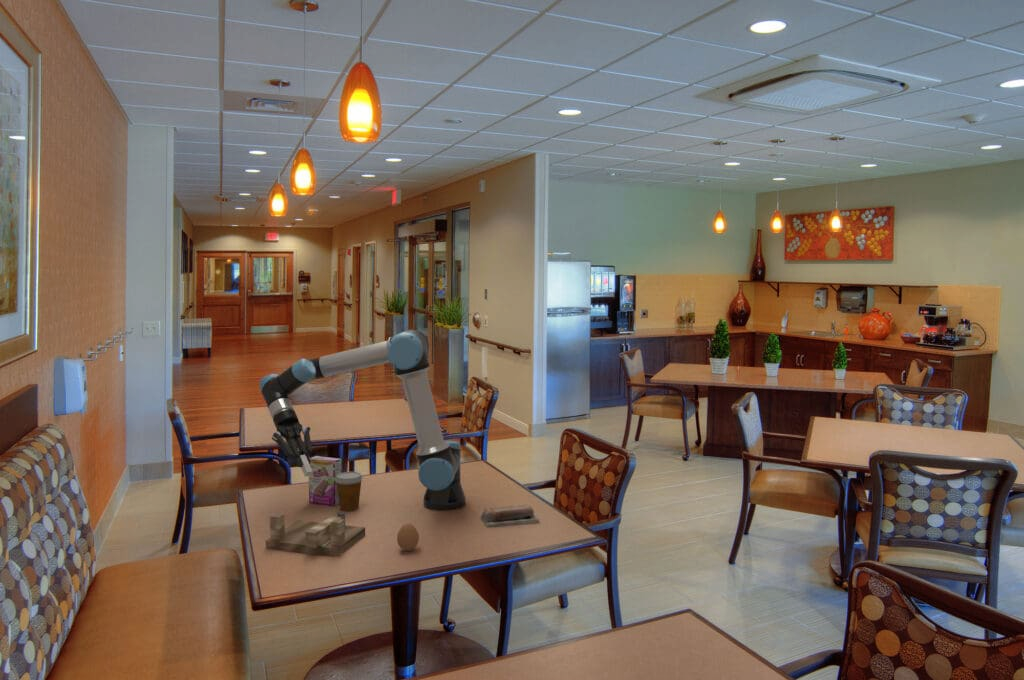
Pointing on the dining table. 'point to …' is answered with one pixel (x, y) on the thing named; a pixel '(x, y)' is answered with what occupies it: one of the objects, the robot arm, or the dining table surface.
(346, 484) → the disposable coffee cup
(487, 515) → the stapler
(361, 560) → the dining table surface
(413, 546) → the egg
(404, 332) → the robot arm
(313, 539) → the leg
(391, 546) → the dining table surface
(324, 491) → the candy bar box
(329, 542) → the wooden block assembly
